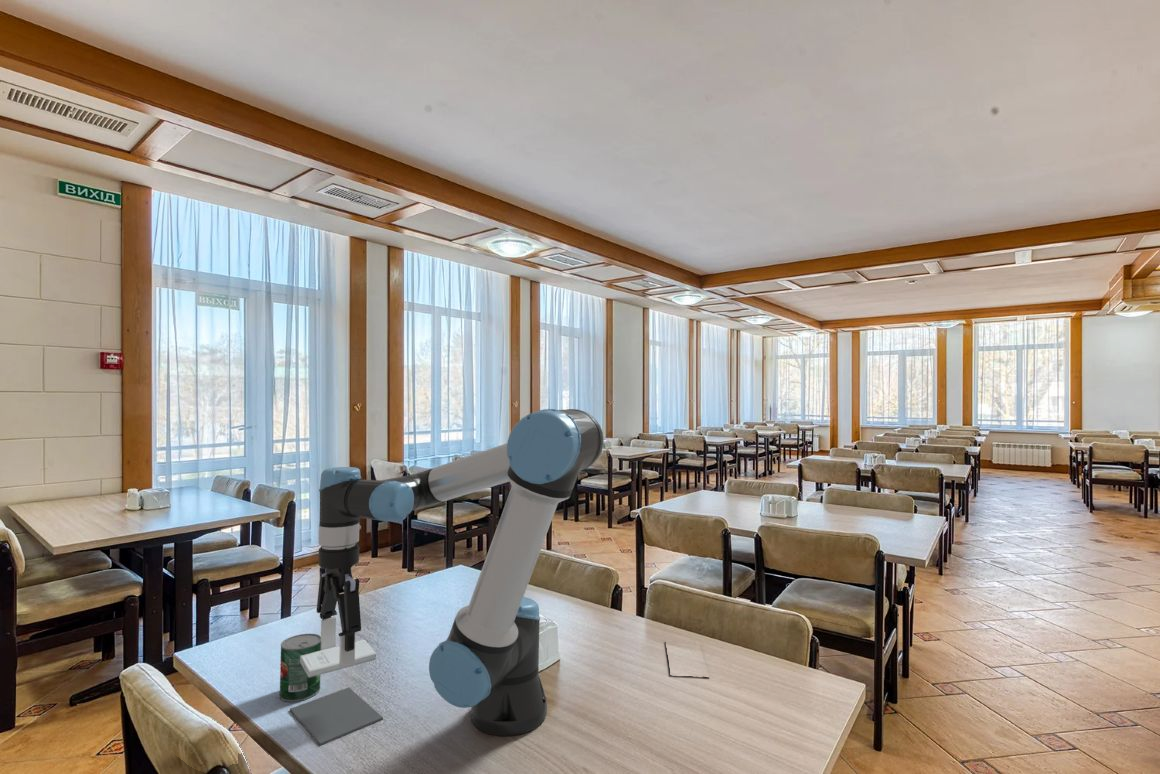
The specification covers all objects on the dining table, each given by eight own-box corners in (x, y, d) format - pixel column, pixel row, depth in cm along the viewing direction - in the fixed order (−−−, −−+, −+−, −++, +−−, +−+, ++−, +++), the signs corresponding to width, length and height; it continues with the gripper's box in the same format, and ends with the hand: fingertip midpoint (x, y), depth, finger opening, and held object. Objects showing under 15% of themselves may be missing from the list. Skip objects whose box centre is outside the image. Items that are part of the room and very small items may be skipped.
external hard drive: (375, 660, 113) (308, 679, 106) (363, 646, 120) (299, 662, 112) (376, 652, 113) (309, 670, 106) (363, 638, 120) (299, 654, 112)
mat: (382, 719, 111) (382, 717, 111) (320, 745, 102) (320, 743, 102) (348, 689, 122) (348, 687, 122) (290, 710, 114) (290, 708, 114)
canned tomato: (274, 691, 121) (275, 640, 121) (312, 679, 126) (313, 630, 127) (286, 706, 115) (287, 652, 115) (326, 692, 121) (327, 641, 121)
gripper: (381, 551, 108) (379, 670, 108) (336, 532, 123) (334, 636, 123) (342, 559, 103) (340, 684, 102) (300, 538, 118) (298, 646, 117)
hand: (337, 657), depth 113 cm, fingers closed on external hard drive, 9 cm apart
